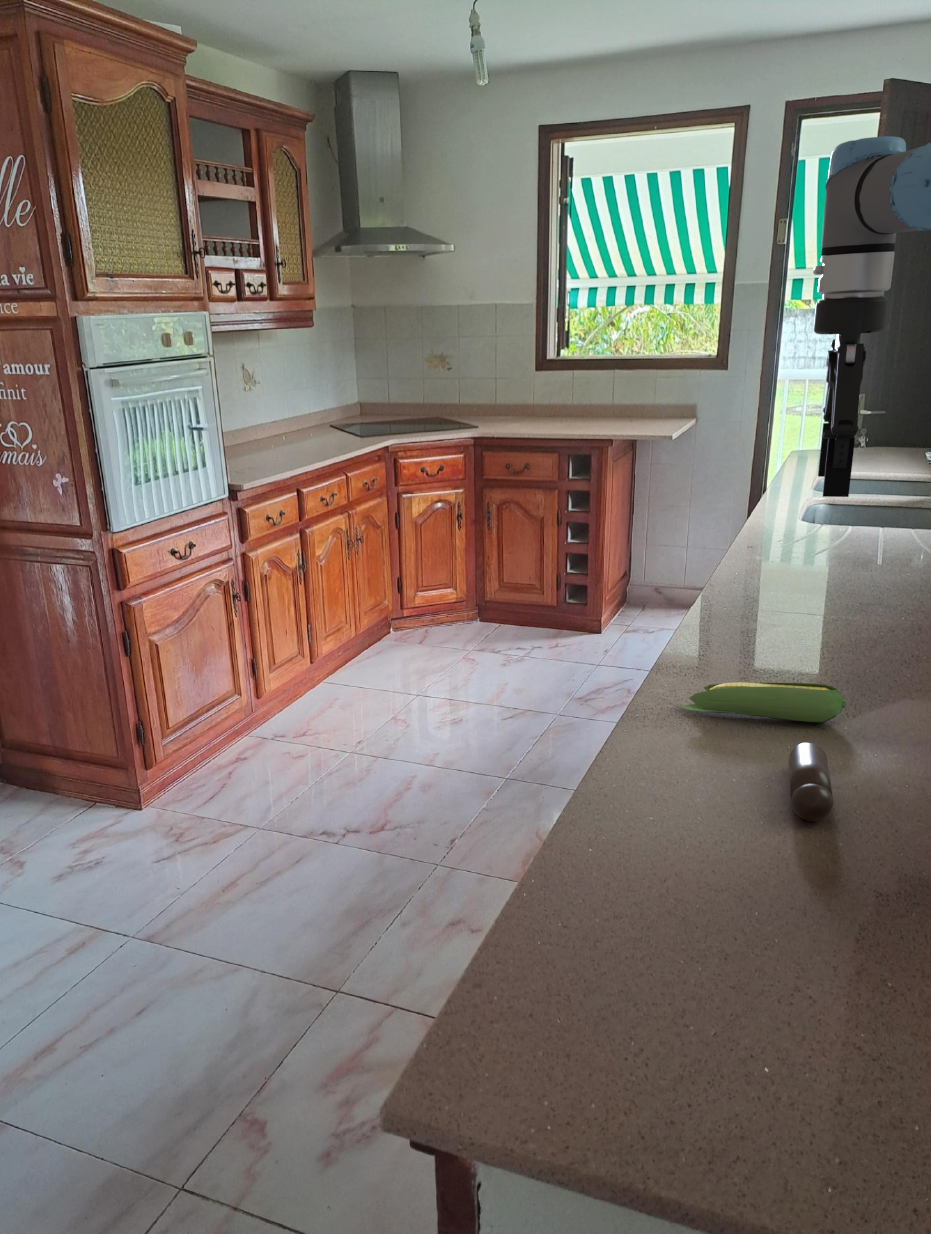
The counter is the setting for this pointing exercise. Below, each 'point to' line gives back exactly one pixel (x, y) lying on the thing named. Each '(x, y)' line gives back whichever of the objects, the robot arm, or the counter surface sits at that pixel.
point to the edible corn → (771, 700)
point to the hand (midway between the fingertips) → (832, 486)
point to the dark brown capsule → (810, 782)
